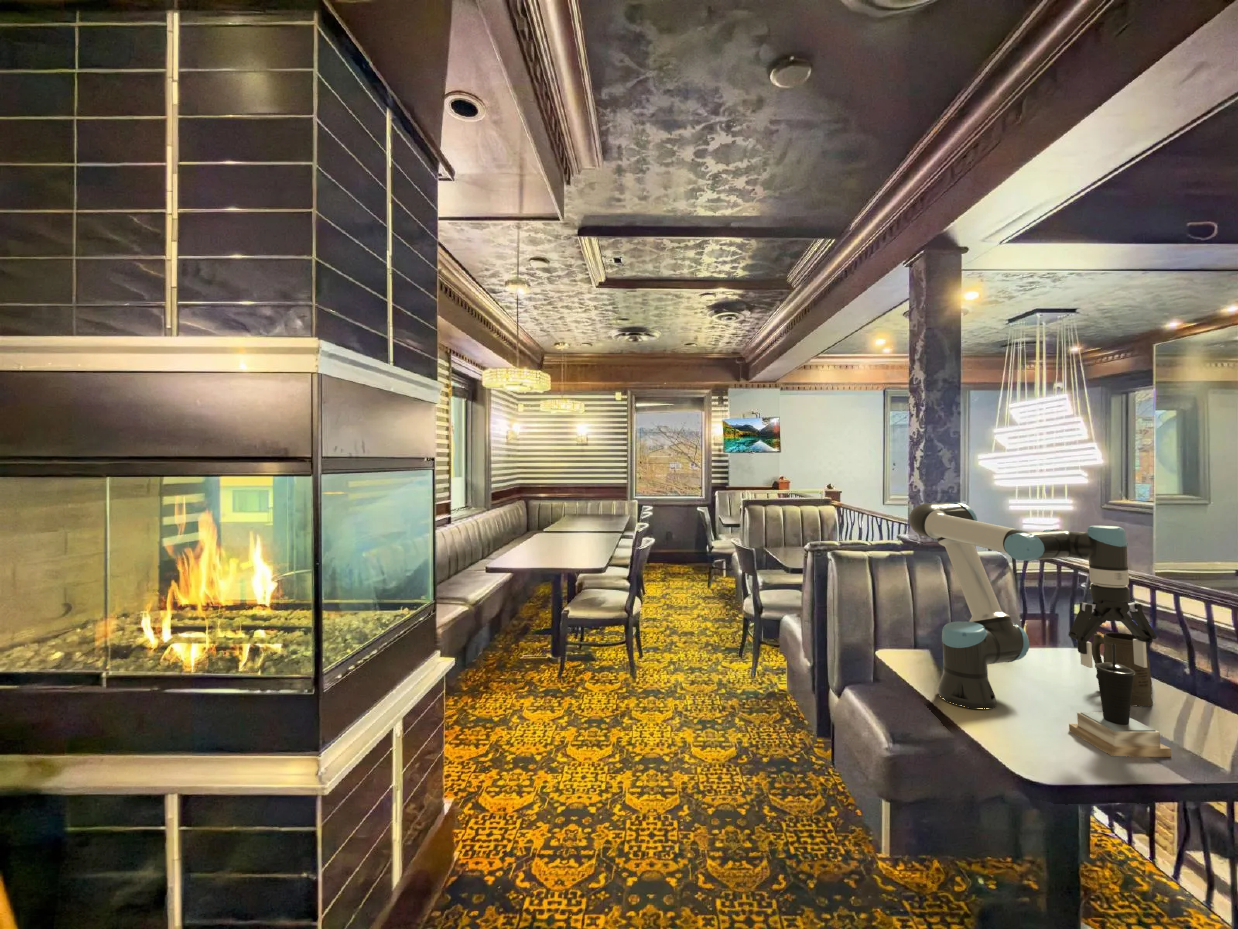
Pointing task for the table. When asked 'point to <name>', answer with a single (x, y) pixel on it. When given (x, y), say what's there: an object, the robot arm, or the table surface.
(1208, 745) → the table surface
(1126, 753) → the plinth
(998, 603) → the robot arm
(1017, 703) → the table surface
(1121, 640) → the beer stein
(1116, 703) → the drinking cup
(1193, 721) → the table surface
